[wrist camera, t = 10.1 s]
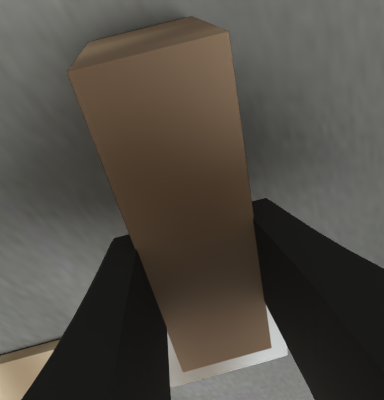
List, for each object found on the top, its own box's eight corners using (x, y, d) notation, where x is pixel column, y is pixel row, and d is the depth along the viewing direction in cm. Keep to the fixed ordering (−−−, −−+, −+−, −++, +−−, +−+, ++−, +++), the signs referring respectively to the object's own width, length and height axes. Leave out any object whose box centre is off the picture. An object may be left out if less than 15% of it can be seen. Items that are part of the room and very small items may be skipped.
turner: (243, 3, 8) (308, 11, 5) (280, 339, 15) (317, 423, 12) (36, 54, 8) (-17, 93, 5) (168, 370, 15) (179, 463, 12)
